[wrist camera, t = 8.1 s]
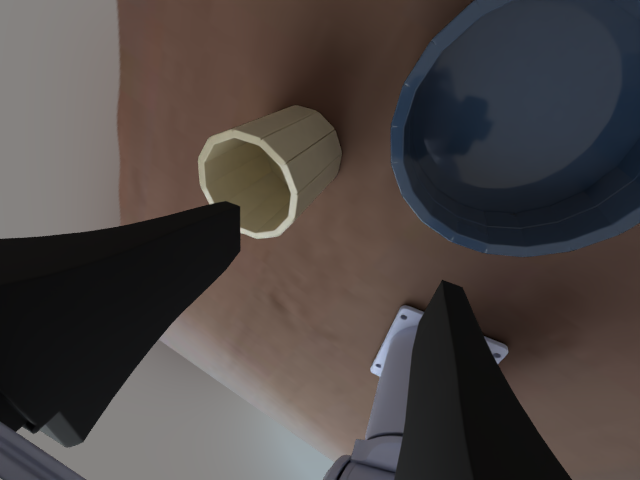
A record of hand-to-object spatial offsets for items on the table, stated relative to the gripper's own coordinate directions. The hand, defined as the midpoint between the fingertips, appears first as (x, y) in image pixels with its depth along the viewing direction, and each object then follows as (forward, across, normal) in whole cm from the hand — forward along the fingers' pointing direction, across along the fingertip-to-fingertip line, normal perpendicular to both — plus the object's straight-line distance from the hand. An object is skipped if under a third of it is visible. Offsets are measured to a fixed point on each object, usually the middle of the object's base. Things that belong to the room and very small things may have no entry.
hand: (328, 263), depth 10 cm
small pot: (+10, +6, +1) cm, 12 cm away
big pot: (+10, -5, -4) cm, 12 cm away
